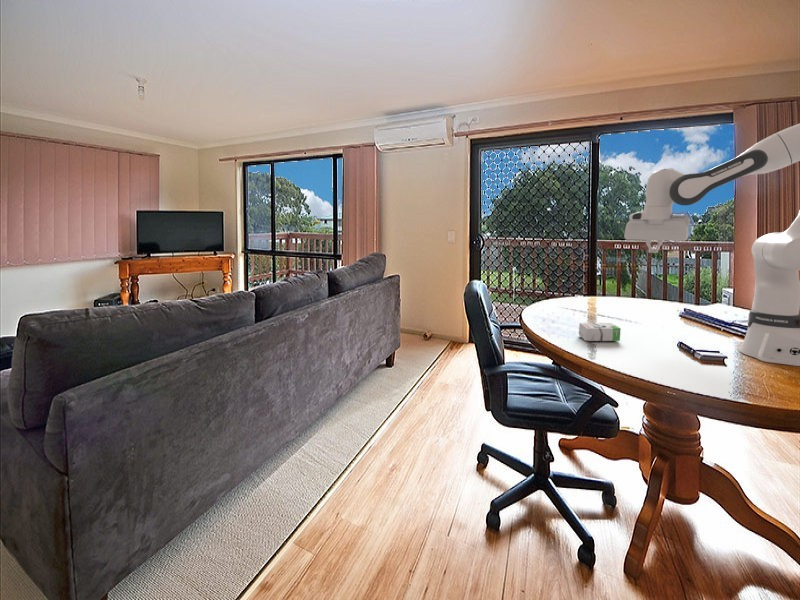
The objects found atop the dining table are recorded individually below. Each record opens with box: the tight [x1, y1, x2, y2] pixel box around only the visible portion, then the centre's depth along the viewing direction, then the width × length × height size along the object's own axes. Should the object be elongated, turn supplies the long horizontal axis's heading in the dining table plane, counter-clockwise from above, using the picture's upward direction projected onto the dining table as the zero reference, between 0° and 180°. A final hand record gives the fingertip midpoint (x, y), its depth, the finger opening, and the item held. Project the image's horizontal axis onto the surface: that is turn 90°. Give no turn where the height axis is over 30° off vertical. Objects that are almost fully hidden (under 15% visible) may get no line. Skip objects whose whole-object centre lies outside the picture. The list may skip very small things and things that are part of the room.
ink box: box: [578, 322, 622, 342], centre depth 151 cm, size 9×5×12 cm
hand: (653, 252), depth 154 cm, fingers closed
